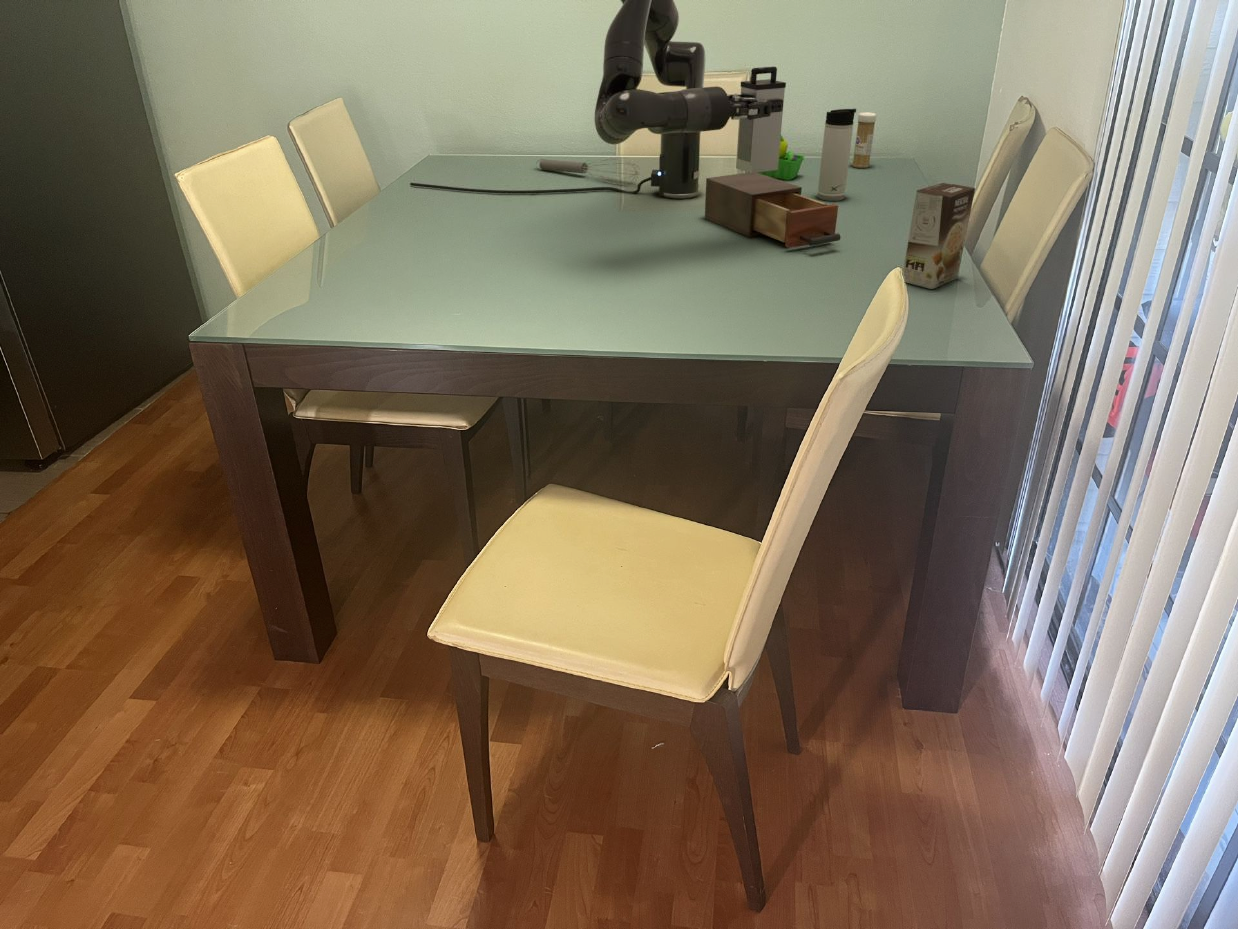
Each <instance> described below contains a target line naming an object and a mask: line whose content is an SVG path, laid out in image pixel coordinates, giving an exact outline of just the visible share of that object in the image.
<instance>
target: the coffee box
mask: <svg viewBox="0 0 1238 929" xmlns="http://www.w3.org/2000/svg"><path fill="white" fill-rule="evenodd" d="M975 193H976V188H975V187H971V186H966V185H960V184H955V183H954V184H953V183H946V182H941V183H938V184H934V185H930V186H927V187H923V188H920V189H917V190H916V193H915V199H914V205H913V211H912V217H911V223H910V229H909V234H908V240H907V247H906V252H905V259H904V265H903V271H904V276H905V282H904V283H906V284H910V285H914V286H918V287H922V288H926V289H929V290H934V289H936V288H938V287H941V286H943V285H945V284H947V283H950V282H952V281H954V280H956V279H958V278H959V273H960V268H961V264H962V258H963V253H964V248H965V243H966V237H967V232H968V227H969V223H970V218H971V212H972V206H973V201H974V196H975ZM903 271H902V272H903Z"/></svg>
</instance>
